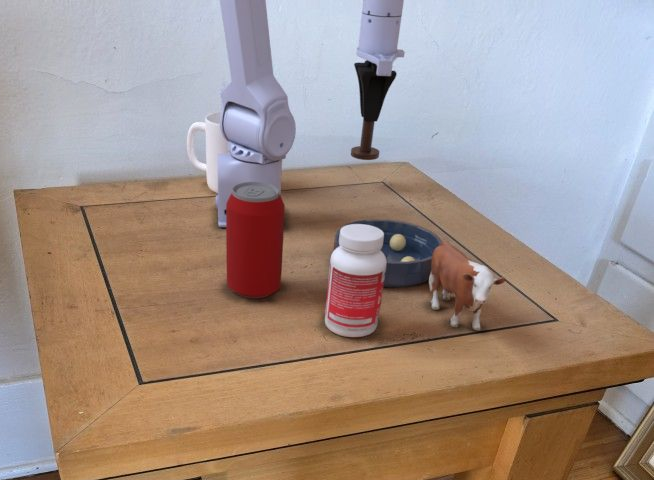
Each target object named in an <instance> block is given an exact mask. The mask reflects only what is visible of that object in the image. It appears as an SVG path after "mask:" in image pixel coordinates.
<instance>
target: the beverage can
mask: <svg viewBox="0 0 654 480" xmlns="http://www.w3.org/2000/svg"><path fill="white" fill-rule="evenodd" d="M284 230H285V202H284V201H283V197H282V195H281V196H280V194H279V189H278V188H277V187H276V186H274V185H271V184H268V183H263V182H244V183H240V184H237V185H235V186H234V187H233V189H232V193H231V195H230V197H229V199H228V201H227V203H226V227H225V236H226V237H225V239H226V243H225V244H226V245H225V246H226V247H225V249H226V250H225V251H226V254H225V255H226V256H225V257H226V284H227V287H228V288H229V289H230V290H231V291H233V292H234V293H236V294H237V295H238V296H241V297H244V298H247V299H248V298H249V299H260V298H266V297H269V296H271V294H274V293H275V292H277V291H278V290H279V289H280V287H281V285H282V284H281V283H282V272H283V271H282V270H283V269H282V268H283V253H284Z"/></svg>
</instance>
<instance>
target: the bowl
mask: <svg viewBox="0 0 654 480" xmlns="http://www.w3.org/2000/svg"><path fill="white" fill-rule="evenodd" d="M351 224H365V225H370V226H374V227H377V228H379V229H380V230H382V231H383V233H384V240H383V246H382V248H381V249H380V250H381V251H382V252H383V254H384V255H385V257H386V261H387V264H386V272H385V278H384V285H383V288H406V287H413V286H417V285H420V284H423V283H425V282H427V281H429V277H430V273H431V270H432V269H431V263H432V256H433V252H434V250H435V248H437V247H438V246H439V245H440V244H441V243H442V242H443V240H442V238H441V237H440V236H439V235H437V234H436V233H435V232H434V231H432V230H429V229H427V228H425V227H423V226H420V225H417V224H413V223H410V222H406V221H400V220H395V219H394V220H393V219H380V218H379V219H375V218H373V219H372V218H371V219H364V220H356V221H353V222H349V223H346V224H344V225H343V226H341V227H340V228H338V229H337V230H336V233H335V234H334V238H333V239H334V241H333V249H332V252H333V251H334V250H335V249H336V248H338V247H339V246H340V245H339V237H340V230H341V228H342V227H344V226H346V225H351ZM396 234H401V235H403V236H404V237H405V239H406V245H405V247H404V248H403V249H402V250H401V251H394V250H393V249H392V248H391V247H390V239H391V238H392V237H393V236H394V235H396ZM407 256H410V257H413V258H414V259H415V261H408V262H400V261H401V260H402V259H403V258H404V257H407Z"/></svg>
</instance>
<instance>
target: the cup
mask: <svg viewBox="0 0 654 480" xmlns="http://www.w3.org/2000/svg"><path fill="white" fill-rule="evenodd" d="M220 115H221V110H220V111H214V112H211V113H207V115H205V117H204V121H203V122H202V121H196V122H194V123H192V124H191V125H190V126H189V128H188V131H187V138H186V150H187V156H188V159H189V162H190V163H191V164H192V166H193V167H194V168H195V169H196V170H198V171H201V172H204V173H206V183H207V186H208V188H209V190H210V191H212V192H214V193H216V194H218V154H227V153H231V151H229V150H228V142H227V141H226V140H225V138H224V137H223V135H222V133H221V130H220ZM197 131H200V132H203V133H205V162H201V161H200V160H199V159H198V158H197V156H196V154H195V146H194V143H195V135H196V133H197Z"/></svg>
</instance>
